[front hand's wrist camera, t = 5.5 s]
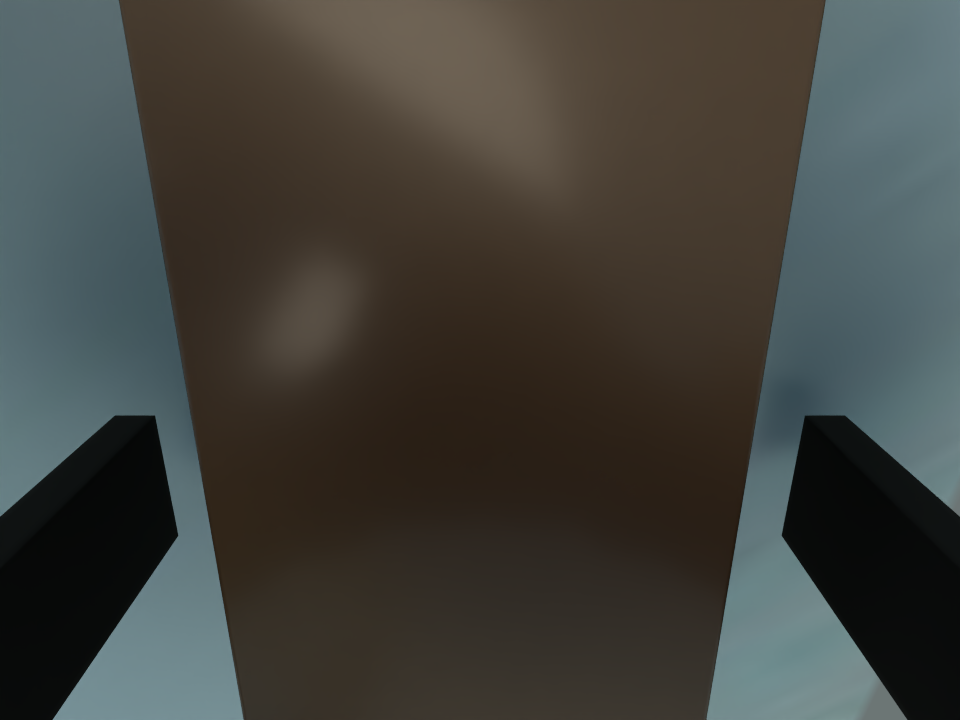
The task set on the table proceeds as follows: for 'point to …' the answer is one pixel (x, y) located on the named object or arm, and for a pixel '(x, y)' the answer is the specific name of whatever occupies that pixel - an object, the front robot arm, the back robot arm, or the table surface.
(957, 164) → the table surface
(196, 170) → the post
